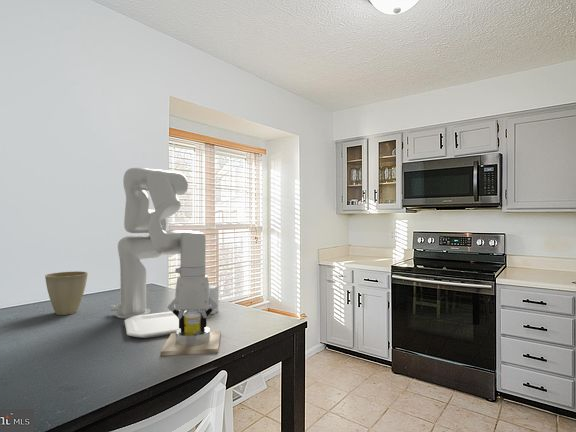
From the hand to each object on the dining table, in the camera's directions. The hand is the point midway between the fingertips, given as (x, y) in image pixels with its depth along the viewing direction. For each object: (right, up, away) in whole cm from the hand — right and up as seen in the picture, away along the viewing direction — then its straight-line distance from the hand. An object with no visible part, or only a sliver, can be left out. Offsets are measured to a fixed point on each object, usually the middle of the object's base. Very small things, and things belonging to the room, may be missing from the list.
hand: (192, 329), depth 110 cm
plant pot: (-61, -5, +36) cm, 71 cm away
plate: (-15, -5, +18) cm, 24 cm away
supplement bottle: (0, -2, 0) cm, 2 cm away
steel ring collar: (0, -3, 0) cm, 3 cm away
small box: (-4, -5, +37) cm, 37 cm away
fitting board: (0, -4, 0) cm, 4 cm away
